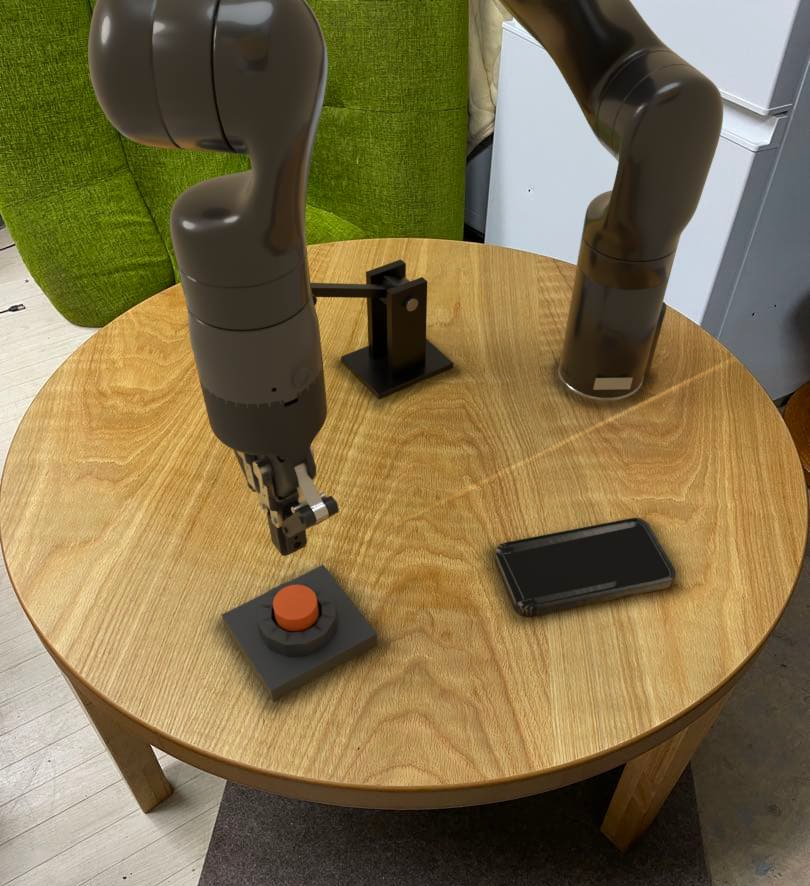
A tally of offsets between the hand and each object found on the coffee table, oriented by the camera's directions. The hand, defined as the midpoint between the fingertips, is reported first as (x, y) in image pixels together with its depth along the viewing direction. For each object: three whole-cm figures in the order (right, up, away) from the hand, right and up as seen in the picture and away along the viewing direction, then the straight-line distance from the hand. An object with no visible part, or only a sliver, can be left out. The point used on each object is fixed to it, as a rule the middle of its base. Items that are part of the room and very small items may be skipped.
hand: (290, 545), depth 65 cm
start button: (0, -6, +7) cm, 9 cm away
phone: (+25, -2, +14) cm, 29 cm away
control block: (0, -8, +9) cm, 12 cm away
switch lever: (+3, +25, +23) cm, 34 cm away
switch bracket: (+8, +20, +33) cm, 39 cm away
